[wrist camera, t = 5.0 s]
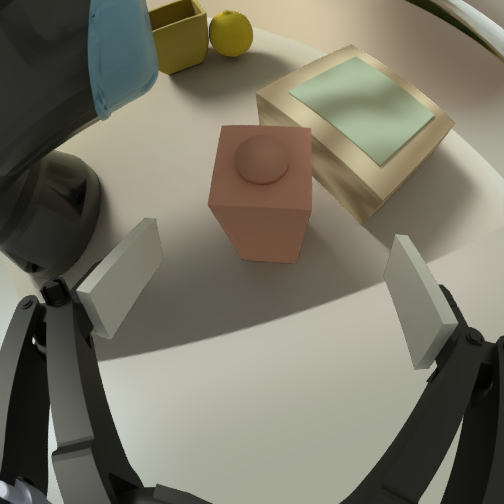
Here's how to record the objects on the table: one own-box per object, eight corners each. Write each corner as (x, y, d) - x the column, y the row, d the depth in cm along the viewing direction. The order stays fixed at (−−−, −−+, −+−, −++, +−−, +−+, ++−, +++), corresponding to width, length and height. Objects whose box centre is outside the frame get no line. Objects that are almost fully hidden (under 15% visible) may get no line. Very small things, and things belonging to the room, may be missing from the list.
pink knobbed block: (243, 259, 24) (204, 199, 11) (248, 210, 25) (219, 118, 12) (296, 263, 23) (312, 204, 11) (298, 213, 24) (311, 120, 12)
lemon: (251, 67, 29) (243, 18, 21) (210, 67, 30) (196, 21, 22) (259, 46, 30) (253, 1, 23) (221, 46, 31) (210, 4, 23)
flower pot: (205, 39, 32) (192, -5, 23) (220, 64, 30) (206, 12, 21) (152, 59, 32) (131, 18, 24) (158, 88, 30) (133, 40, 21)
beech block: (260, 132, 27) (255, 91, 21) (344, 79, 28) (351, 43, 22) (361, 226, 24) (383, 199, 18) (432, 152, 25) (456, 121, 19)
